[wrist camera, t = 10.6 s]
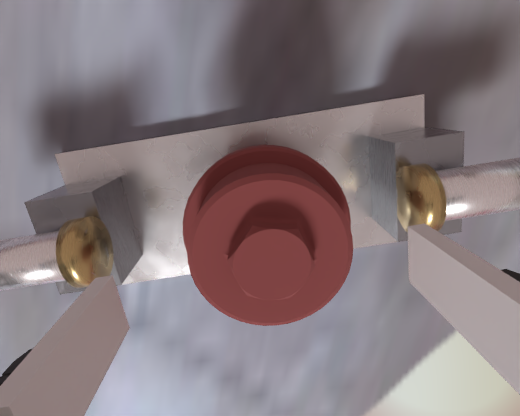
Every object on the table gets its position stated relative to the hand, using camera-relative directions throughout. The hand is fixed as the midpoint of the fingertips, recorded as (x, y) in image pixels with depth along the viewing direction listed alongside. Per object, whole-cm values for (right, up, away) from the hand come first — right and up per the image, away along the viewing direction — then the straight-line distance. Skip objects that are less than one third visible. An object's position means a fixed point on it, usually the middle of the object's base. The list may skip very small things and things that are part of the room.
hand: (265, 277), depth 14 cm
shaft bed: (-1, +4, +14) cm, 14 cm away
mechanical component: (0, +4, +13) cm, 13 cm away
